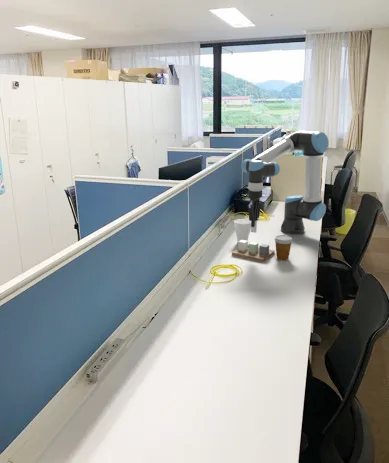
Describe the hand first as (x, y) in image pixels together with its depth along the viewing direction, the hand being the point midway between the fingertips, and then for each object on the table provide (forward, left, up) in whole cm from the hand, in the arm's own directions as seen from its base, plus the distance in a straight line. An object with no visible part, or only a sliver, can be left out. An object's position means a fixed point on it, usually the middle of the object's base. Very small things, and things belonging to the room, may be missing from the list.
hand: (253, 231), depth 225 cm
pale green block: (0, 0, -12) cm, 12 cm away
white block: (0, -6, -12) cm, 13 cm away
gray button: (0, +7, -12) cm, 13 cm away
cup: (-15, -14, -14) cm, 25 cm away
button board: (0, 0, -14) cm, 14 cm away
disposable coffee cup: (-4, +16, -14) cm, 21 cm away
